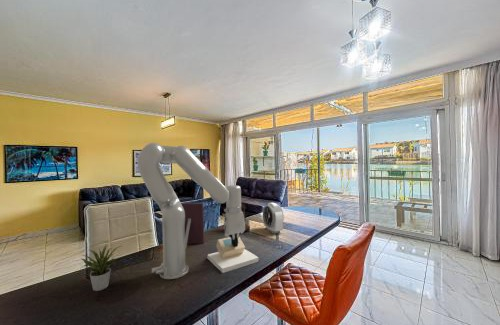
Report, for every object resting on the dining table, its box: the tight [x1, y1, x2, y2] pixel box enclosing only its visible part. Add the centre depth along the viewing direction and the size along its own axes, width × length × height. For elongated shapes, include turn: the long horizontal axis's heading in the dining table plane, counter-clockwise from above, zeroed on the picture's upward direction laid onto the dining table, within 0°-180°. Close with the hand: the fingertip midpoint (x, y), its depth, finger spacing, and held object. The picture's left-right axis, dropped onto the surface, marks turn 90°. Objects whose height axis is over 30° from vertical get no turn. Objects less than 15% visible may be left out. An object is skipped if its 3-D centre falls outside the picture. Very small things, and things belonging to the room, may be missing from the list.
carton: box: [215, 236, 246, 259], centre depth 113 cm, size 12×8×5 cm
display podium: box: [207, 249, 260, 274], centre depth 112 cm, size 20×18×2 cm
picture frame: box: [180, 202, 205, 250], centre depth 131 cm, size 17×10×25 cm, turn 84°
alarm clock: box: [262, 202, 285, 235], centre depth 157 cm, size 18×8×20 cm, turn 25°
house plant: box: [81, 244, 122, 292], centre depth 90 cm, size 14×14×16 cm
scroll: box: [241, 203, 251, 232], centre depth 159 cm, size 15×15×20 cm
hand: (234, 245), depth 111 cm, fingers closed
